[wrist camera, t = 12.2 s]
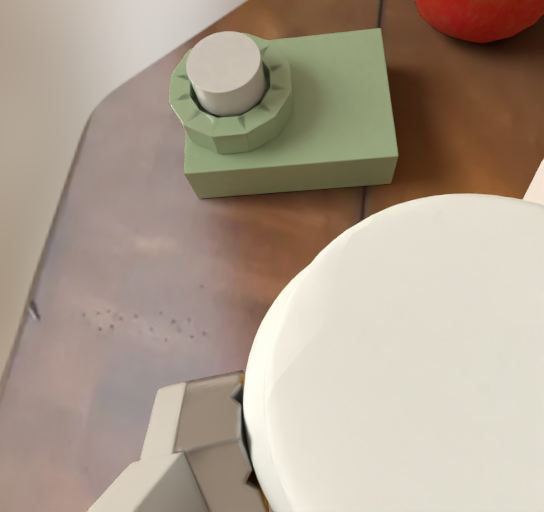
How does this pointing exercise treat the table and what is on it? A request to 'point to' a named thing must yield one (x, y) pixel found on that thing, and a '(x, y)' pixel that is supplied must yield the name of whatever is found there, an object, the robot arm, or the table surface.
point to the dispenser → (296, 121)
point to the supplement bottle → (407, 366)
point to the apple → (480, 17)
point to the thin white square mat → (536, 187)
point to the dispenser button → (226, 73)
